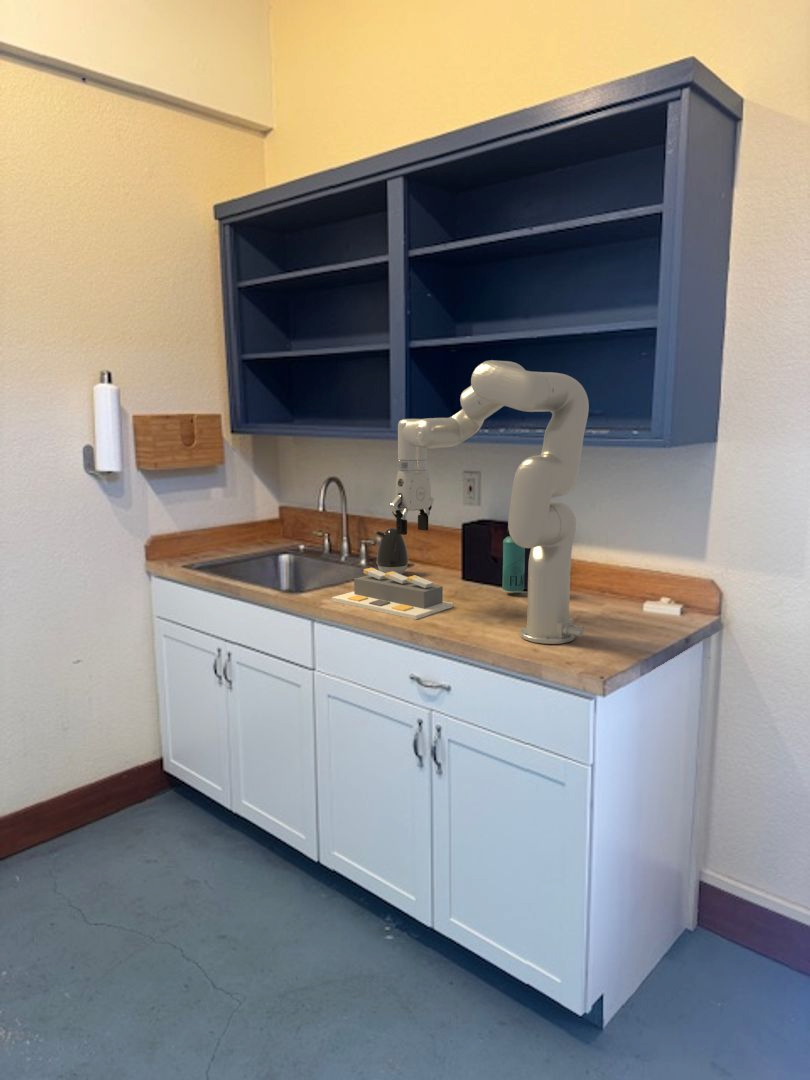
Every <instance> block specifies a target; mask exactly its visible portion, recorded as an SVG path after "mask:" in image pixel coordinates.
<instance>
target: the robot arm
mask: <svg viewBox="0 0 810 1080" xmlns="http://www.w3.org/2000/svg"><path fill="white" fill-rule="evenodd" d="M459 401H460V407H461V409H460V410H459V411H458V412H456V413H455V414H453V415H452V416H449V417H433V418H432V417H429V418H403V419H401V420H399V421H398V424H397V471H398V472H397V474H396V480H395V491H394V492H395V497H394V499H393V500H392V501H391V503H390V504H389V507H390V509H391V511H392V515H393V517H394V519H395V520H396V524H395V525H396V533H397V534H402V536H403V535H404V536H406V535H407V534H408V519H406V518H407V515H408V513H409V512H415V511H418V514H417V529H418V531H429V516H430V514H431V512H430V511H431V510H432V508H433V507H432V506H433V504H434V500H435V499H434V498H433V497H432V489H431V479H430V474H429V471H428V470H427V469H428V465H427V464H428V460H427V458H428V451H427V450H428V449H438V448H452V447H455V446H456V447H457V446H459V445H460V444H462V443H464V442H465V441H466V440H468V439H469V438H471V437H473V436H474V435H475V434H477V432H478V431H479V430H480V429H481V428H482V426H483V424H484V421H485V420H486V419H488V418H489V417H490V416H492V415H493V414H494V413H496V412H498V411H499V410H501V408H503V407H508V408H509V409H510V408H511V409H514V410H517V411H521V412H528V413H529V412H530V413H534V412H535V413H536V412H538V413H539V412H543V413H544V412H545V413H546V412H550V413H551V414H552V415H551V419H549V422H548V423H547V426H546V429H545V432H544V435H543V443H542V448H541V453H540V454H538V455H532V456H529V457H527V458H525V459H524V460H523V461H522V462H521V463H520V464H519V465H518V467H517V469H516V471H515V474H514V478H513V483H512V489H511V490H512V491H511V495H510V497H511V498H510V504H509V512H508V518H507V519H508V520H507V522H508V523H507V524H508V525H507V527H508V529H509V533H508V534H509V536H511V538H512V540H513V541H514V542H515V543H516V544H517V545H518V546H520V547H523V548H525V549H530V551H529V555H528V557H529V558H528V565H527V566H528V570H527V574H528V575H527V605H526V609H527V610H526V626H523V627H522V628H521V629H520V630H519V635H520V637H521V638H522V639H524V640H526V641H528V642H532V643H536V644H542V645H544V644H546V645H555V644H556V645H557V644H558V645H560V644H567V643H570V642H572V641H574V640H575V638H576V637H577V638H583V636H584V626H579V625H575V624H574V618H572V617H570V596H571V595H570V594H571V593H570V591H571V567H572V553H573V552H572V551H573V546H574V545H573V544H574V540H575V535H576V530H577V519H576V515H575V513H574V511H573V509H572V508H571V507H570V506H569V505H568V504H566V503H565V502H563V501H558V500H552V498H559V497H563V496H566V495H568V494H570V493H571V492H572V491H574V489H575V487H576V485H577V482H578V476H579V470H580V466H581V465H580V464H581V457H582V452H583V445H584V444H583V443H584V436H585V432H586V427H587V422H588V418H589V417H588V416H589V410H590V409H589V407H590V406H589V404H590V403H589V398H588V394H587V391H586V390H585V388H584V387H583V385H582V384H581V383H580V382H579V381H578V380H577V379H575V378H573V377H572V376H569V374H564V373H561V372H560V373H559V372H552V371H550V372H549V371H548V372H547V371H546V372H545V371H544V372H543V371H532V370H531V371H530V370H526V369H525V368H524V367H523V366H522V365H520V364H519V363H517V362H513V361H509V360H493V359H491V360H485V361H483V362H482V363H480V364H478V365H477V366H476V367H475V368H474V370H473V372H472V374H471V378H470V386H468V387H467V388H465V389H464V390H463V391H462V392H461V394H460V398H459Z"/></svg>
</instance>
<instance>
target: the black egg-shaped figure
mask: <svg viewBox="0 0 810 1080" xmlns="http://www.w3.org/2000/svg"><path fill="white" fill-rule="evenodd" d="M375 534H376V535H377V536H381V538H380V542H379V543H378V544H379V545H378V548H377V555H376V565H377V567H378V570H379V571H381V572H384V573H388V572H392V571H394V572H396V573H398V574H401V575H403V574H404V573H405V572H406V570H407V568H408V565H409V555H408V547H407V545H406V542H405V538H404V537H403V535H402V534H397V533H396V528H395V527H390V528H387V529H385V531H384V532H382V531H378V530H376V533H375Z"/></svg>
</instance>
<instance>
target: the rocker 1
mask: <svg viewBox="0 0 810 1080" xmlns="http://www.w3.org/2000/svg"><path fill="white" fill-rule="evenodd" d="M362 573H363V574H364V575H370V576H372V577H375V578H377V579H380V580H381V579H385V578H386V577H385V573H384V572H381V571H380V570H379V569H376V568H374V567H369V568H368V567H367V568H363V572H362Z"/></svg>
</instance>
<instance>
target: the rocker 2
mask: <svg viewBox="0 0 810 1080" xmlns="http://www.w3.org/2000/svg"><path fill="white" fill-rule="evenodd" d="M406 577H407V581H409V582H411V583H414V584H416V585H419V586H421V587H424V588H428V587H431V586H433V585H434V581H430V580H428V579H426V578H423V577H421V576H418V575H411V576H406Z"/></svg>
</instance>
